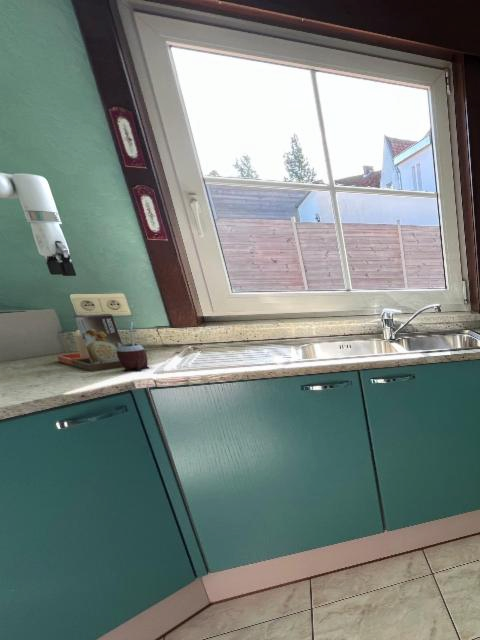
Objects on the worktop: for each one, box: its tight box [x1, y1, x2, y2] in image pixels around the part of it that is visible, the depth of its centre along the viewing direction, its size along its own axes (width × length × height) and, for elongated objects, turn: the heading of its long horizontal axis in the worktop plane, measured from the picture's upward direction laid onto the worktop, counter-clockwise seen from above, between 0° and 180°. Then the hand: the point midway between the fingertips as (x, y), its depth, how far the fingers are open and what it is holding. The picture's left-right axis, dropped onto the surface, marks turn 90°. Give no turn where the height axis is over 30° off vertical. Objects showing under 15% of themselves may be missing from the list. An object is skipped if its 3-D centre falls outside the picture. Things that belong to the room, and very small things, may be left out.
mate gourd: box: [116, 320, 150, 372], centre depth 159 cm, size 8×8×15 cm
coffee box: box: [73, 313, 124, 364], centre depth 163 cm, size 9×6×16 cm
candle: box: [72, 329, 89, 358], centre depth 170 cm, size 6×6×10 cm
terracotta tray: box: [56, 352, 89, 366], centre depth 172 cm, size 14×11×2 cm
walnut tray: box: [73, 358, 124, 372], centre depth 166 cm, size 14×13×2 cm
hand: (63, 275), depth 162 cm, fingers open, 9 cm apart
